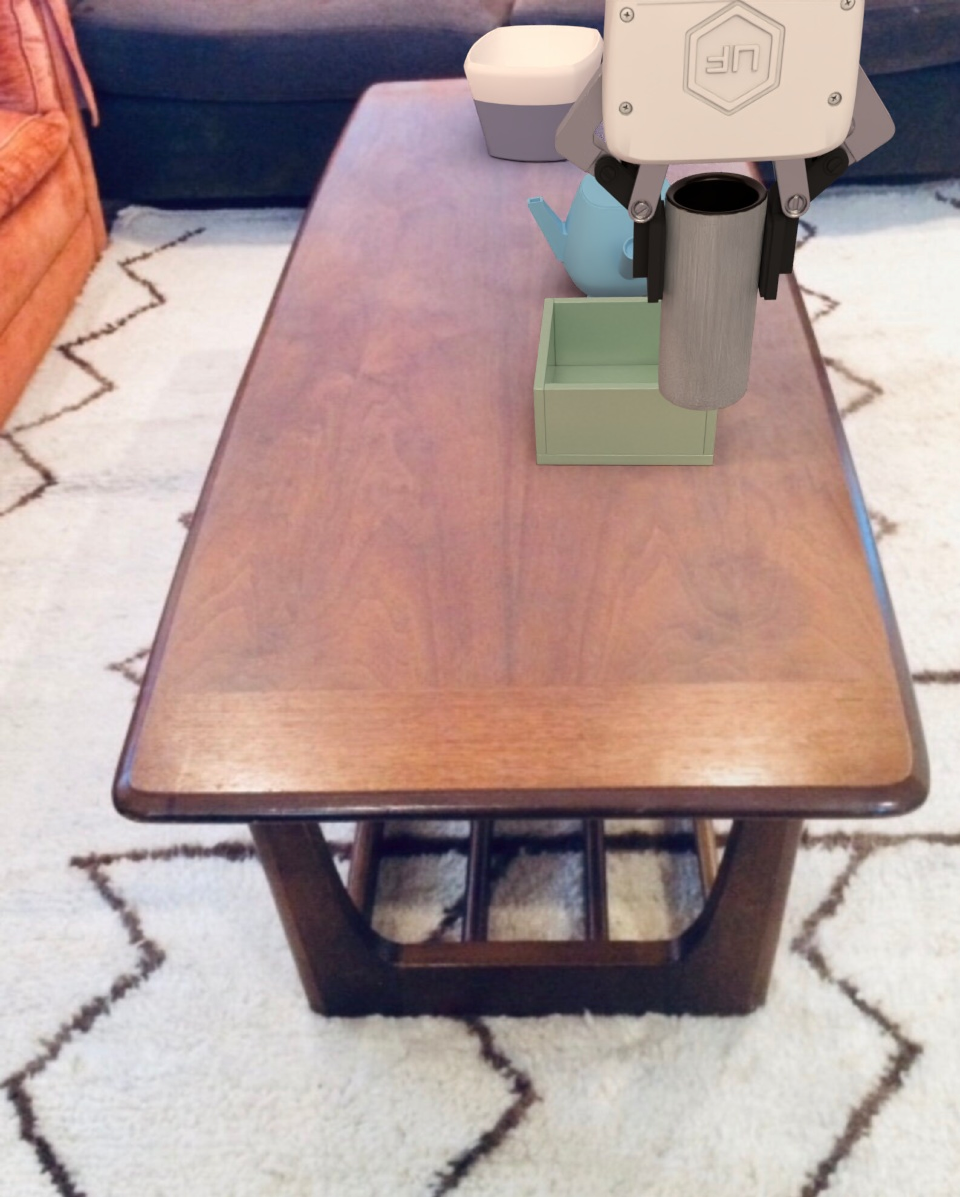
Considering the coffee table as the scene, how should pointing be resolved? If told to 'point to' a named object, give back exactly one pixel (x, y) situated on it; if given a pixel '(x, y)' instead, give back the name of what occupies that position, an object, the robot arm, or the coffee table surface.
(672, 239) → the grey hollow cylinder
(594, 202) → the teapot
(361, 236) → the coffee table surface
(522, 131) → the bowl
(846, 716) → the coffee table surface
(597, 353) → the green open box
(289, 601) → the coffee table surface
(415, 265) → the coffee table surface
